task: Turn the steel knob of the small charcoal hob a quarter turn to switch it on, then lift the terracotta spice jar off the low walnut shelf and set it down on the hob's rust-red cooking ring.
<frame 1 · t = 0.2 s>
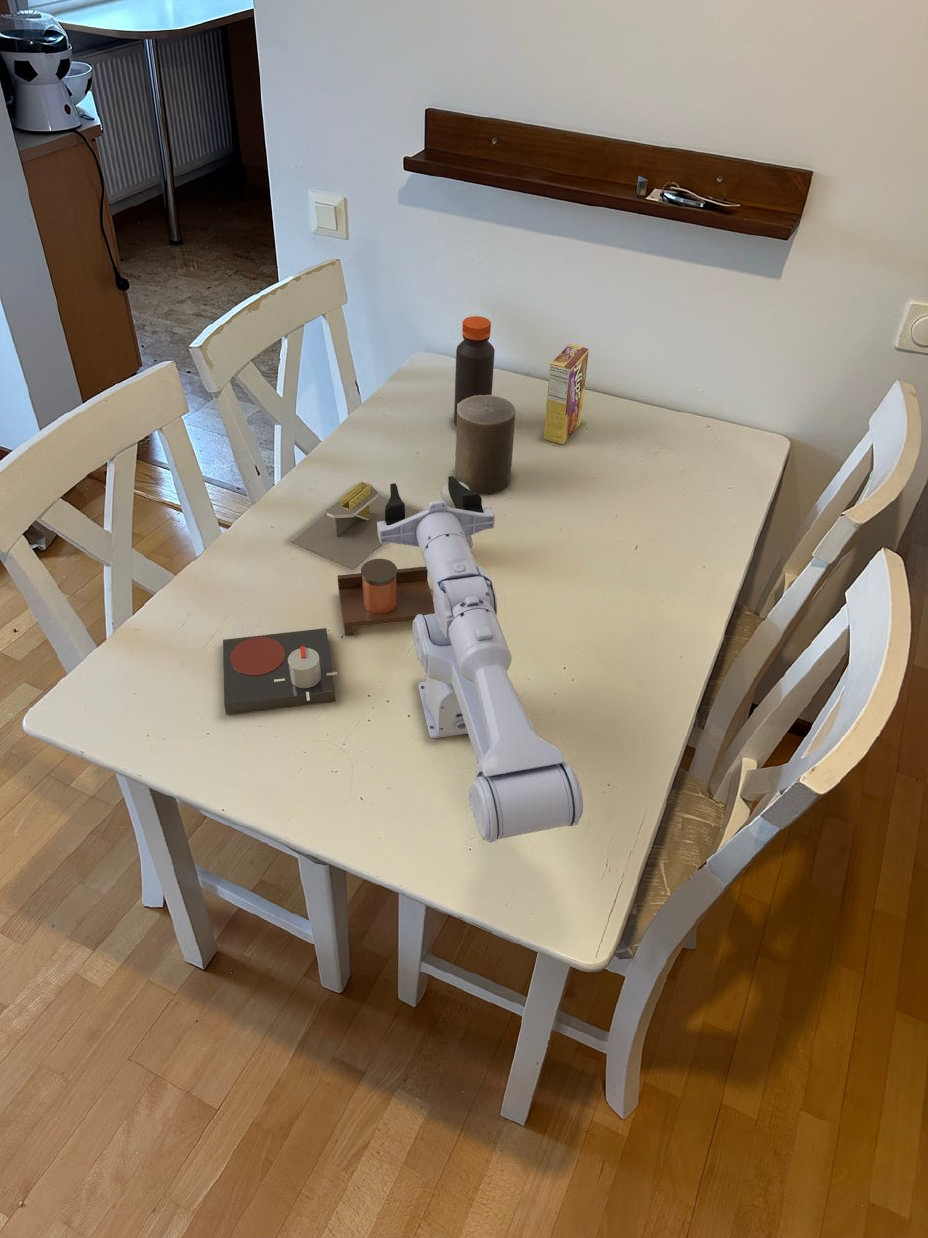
hand: (422, 486, 119), 21 cm above the table, tool horizontal, fingers open, 7 cm apart
salt shaker: (453, 557, 142), on the table
hob knob: (304, 667, 118), point 4 cm above the table, hinge at 0.0°
bottle: (471, 424, 171), on the table
candy box: (561, 432, 171), on the table
spice shelf: (387, 612, 132), on the table
jar: (380, 602, 130), point 2 cm above the table, touching spice shelf
hob: (279, 675, 123), on the table
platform: (356, 527, 147), on the table
pillar candle: (482, 479, 158), on the table
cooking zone: (257, 656, 122), resting on hob
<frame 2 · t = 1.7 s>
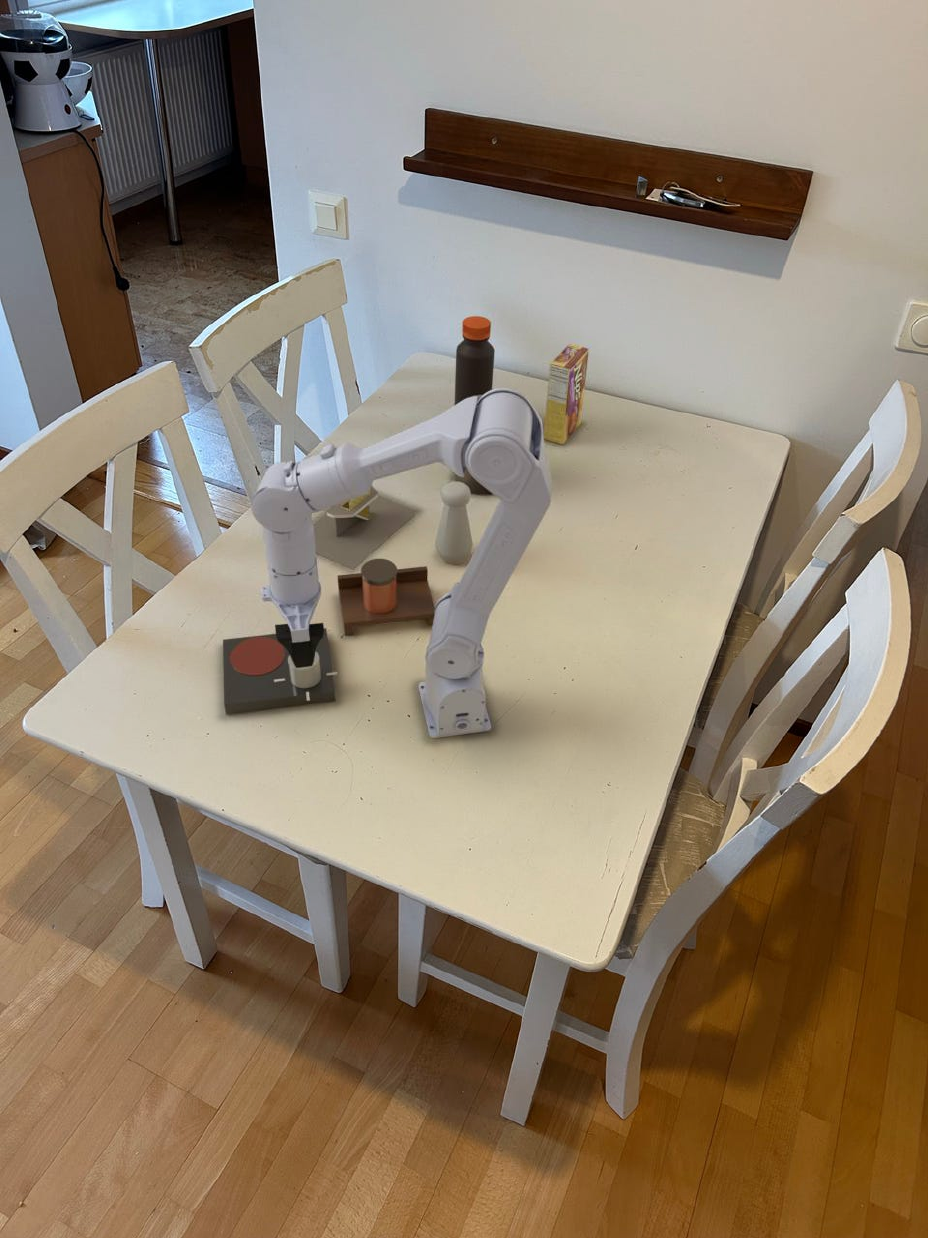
hand: (301, 643, 115), 8 cm above the table, tool pointing down, fingers open, 7 cm apart
nothing on the table moved.
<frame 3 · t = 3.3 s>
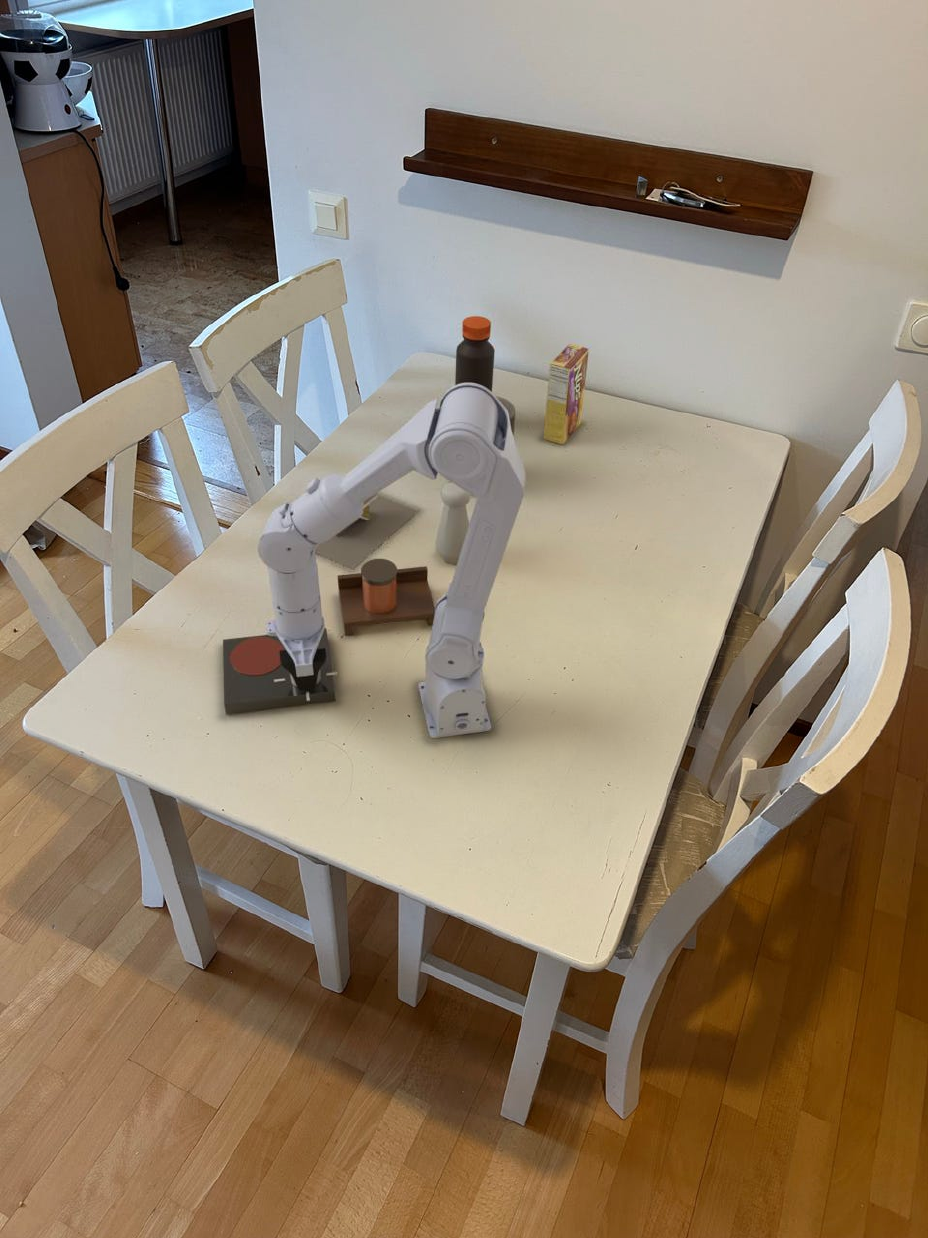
hand: (305, 674, 119), 3 cm above the table, tool pointing down, fingers closed on hob knob, 4 cm apart
hob knob: (304, 667, 118), point 4 cm above the table, hinge at 0.0°, touching gripper
everything else where it was.
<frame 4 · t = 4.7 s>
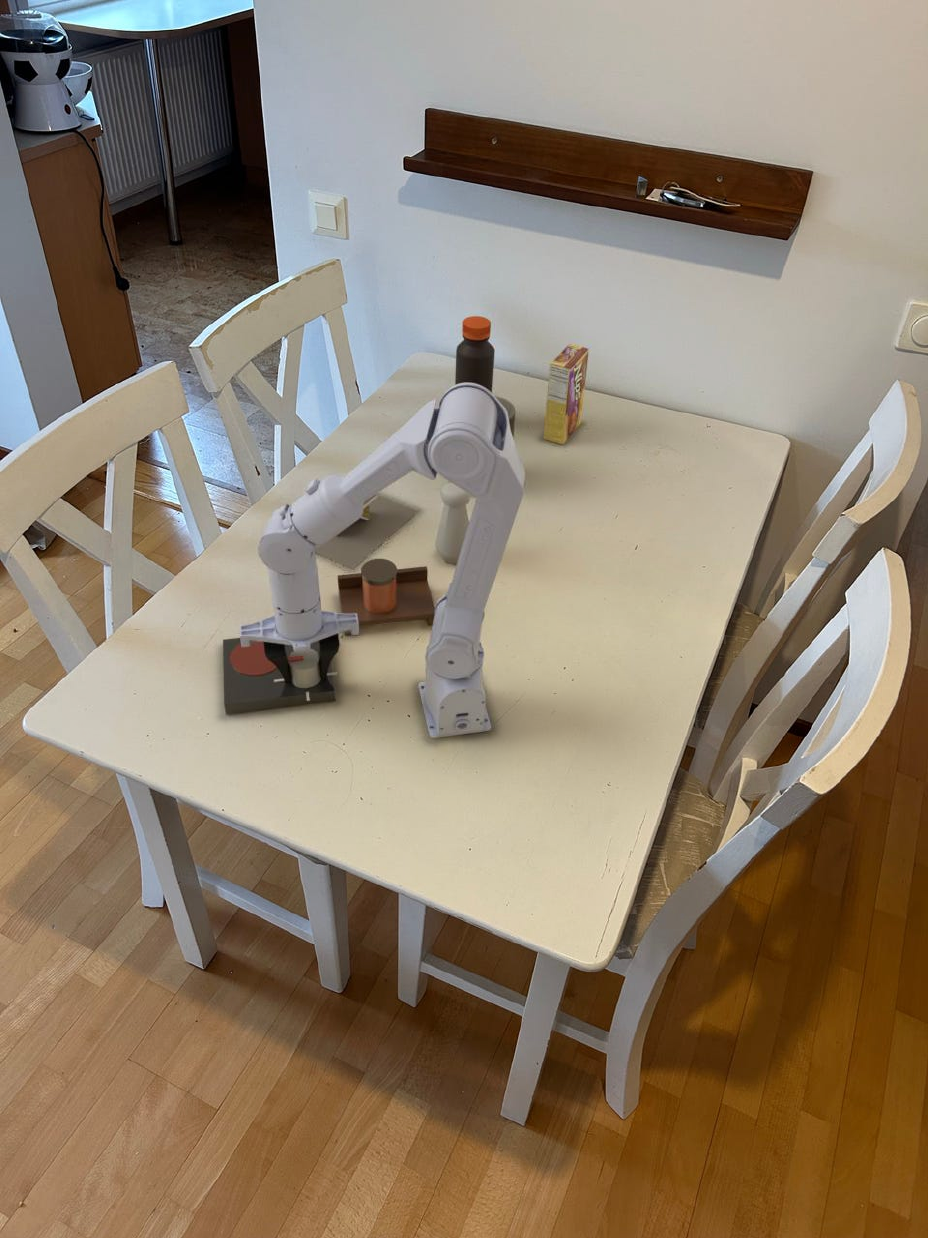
hand: (305, 675, 119), 2 cm above the table, tool pointing down, fingers closed on hob knob, 4 cm apart
hob knob: (304, 667, 118), point 4 cm above the table, hinge at 89.6°, touching gripper
everything else where it was.
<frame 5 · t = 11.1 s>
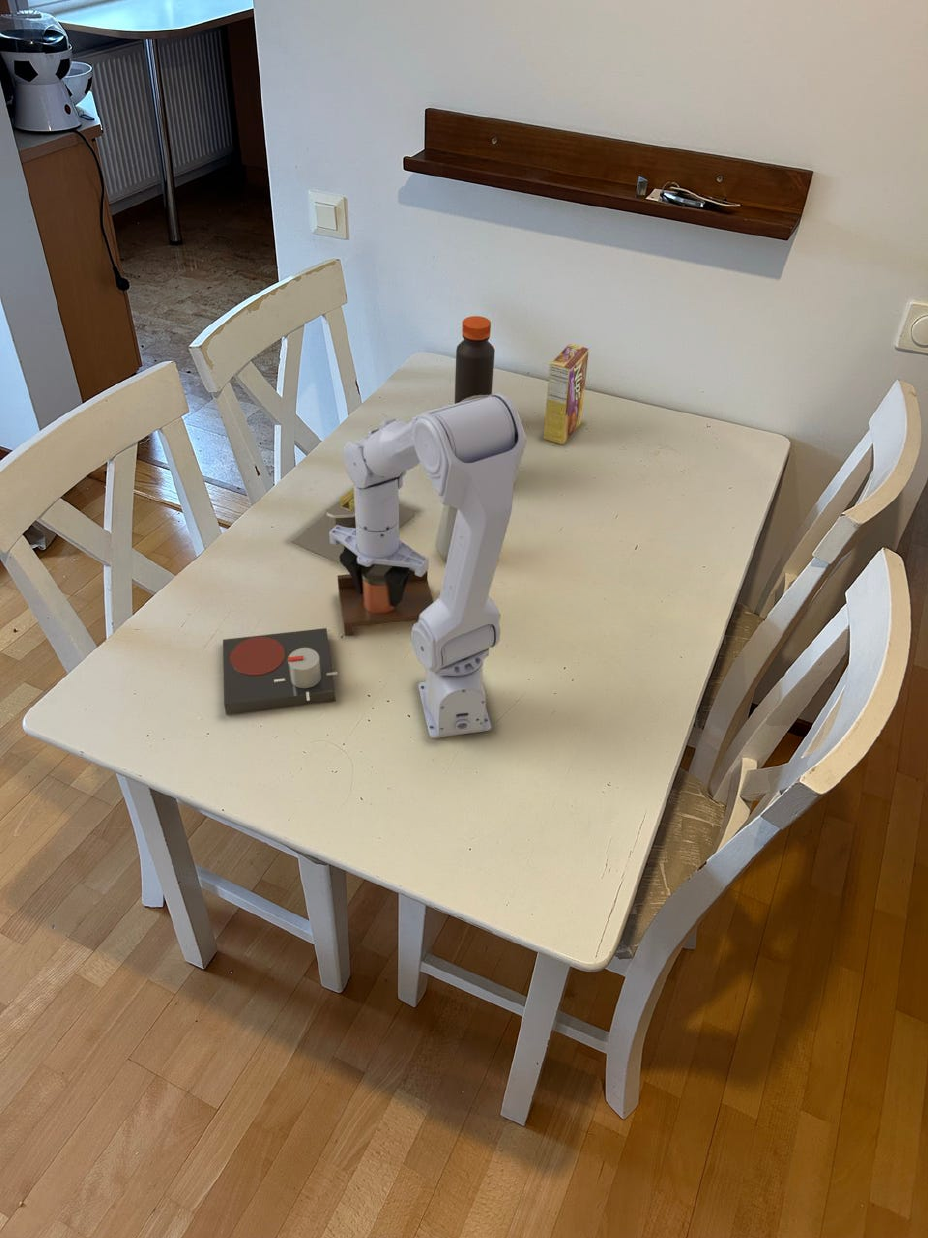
hand: (379, 596, 129), 4 cm above the table, tool pointing down, fingers closed on jar, 5 cm apart
hob knob: (304, 667, 118), point 4 cm above the table, hinge at 89.5°
jar: (380, 602, 130), point 3 cm above the table, touching gripper, spice shelf
everything else where it was.
when the fingers open (3 cm above the table, at t = 16.2 s): jar stays where it is, resting on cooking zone.
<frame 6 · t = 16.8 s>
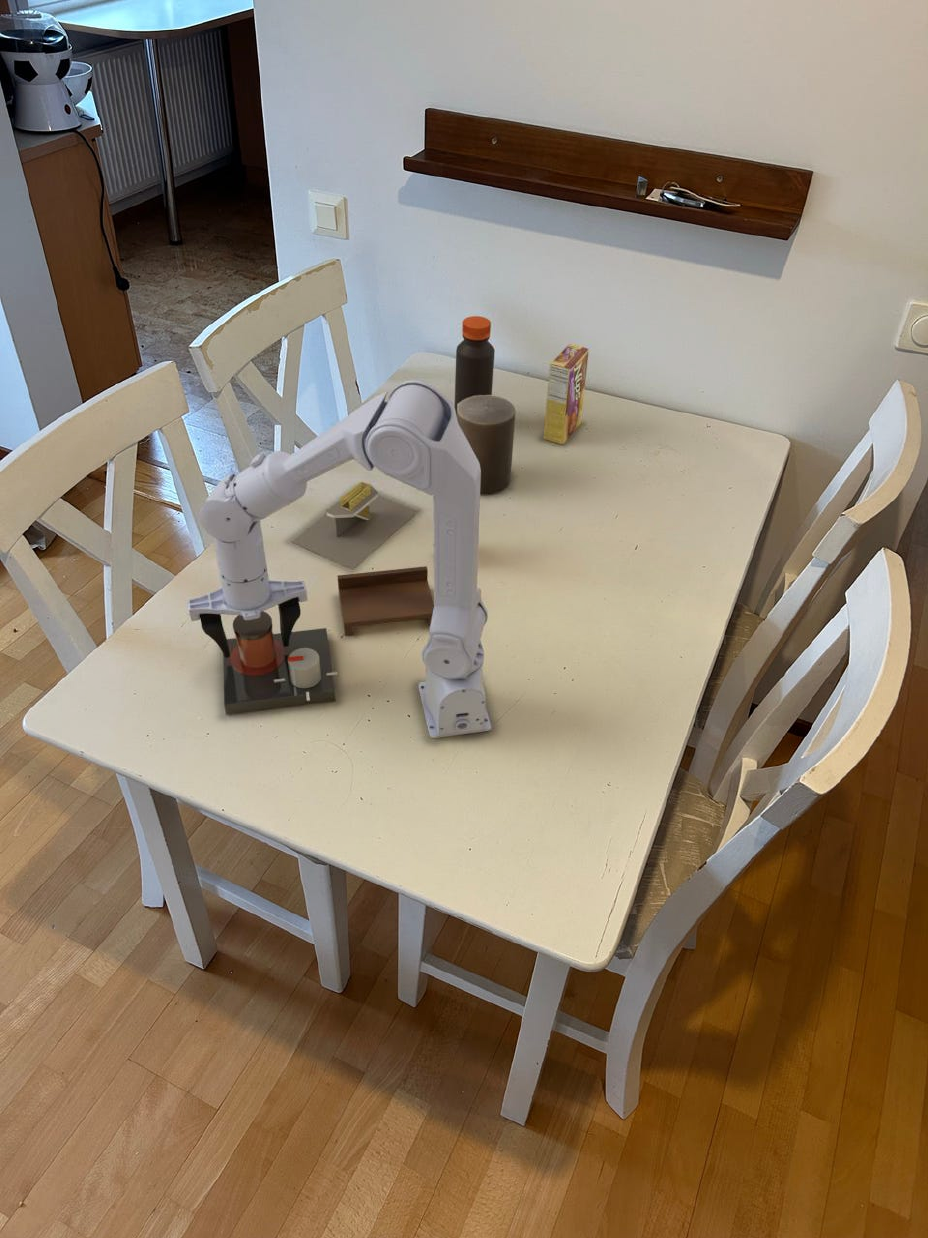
hand: (256, 646, 121), 4 cm above the table, tool pointing down, fingers open, 7 cm apart
jar: (257, 655, 122), point 2 cm above the table, touching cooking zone
everything else where it was.
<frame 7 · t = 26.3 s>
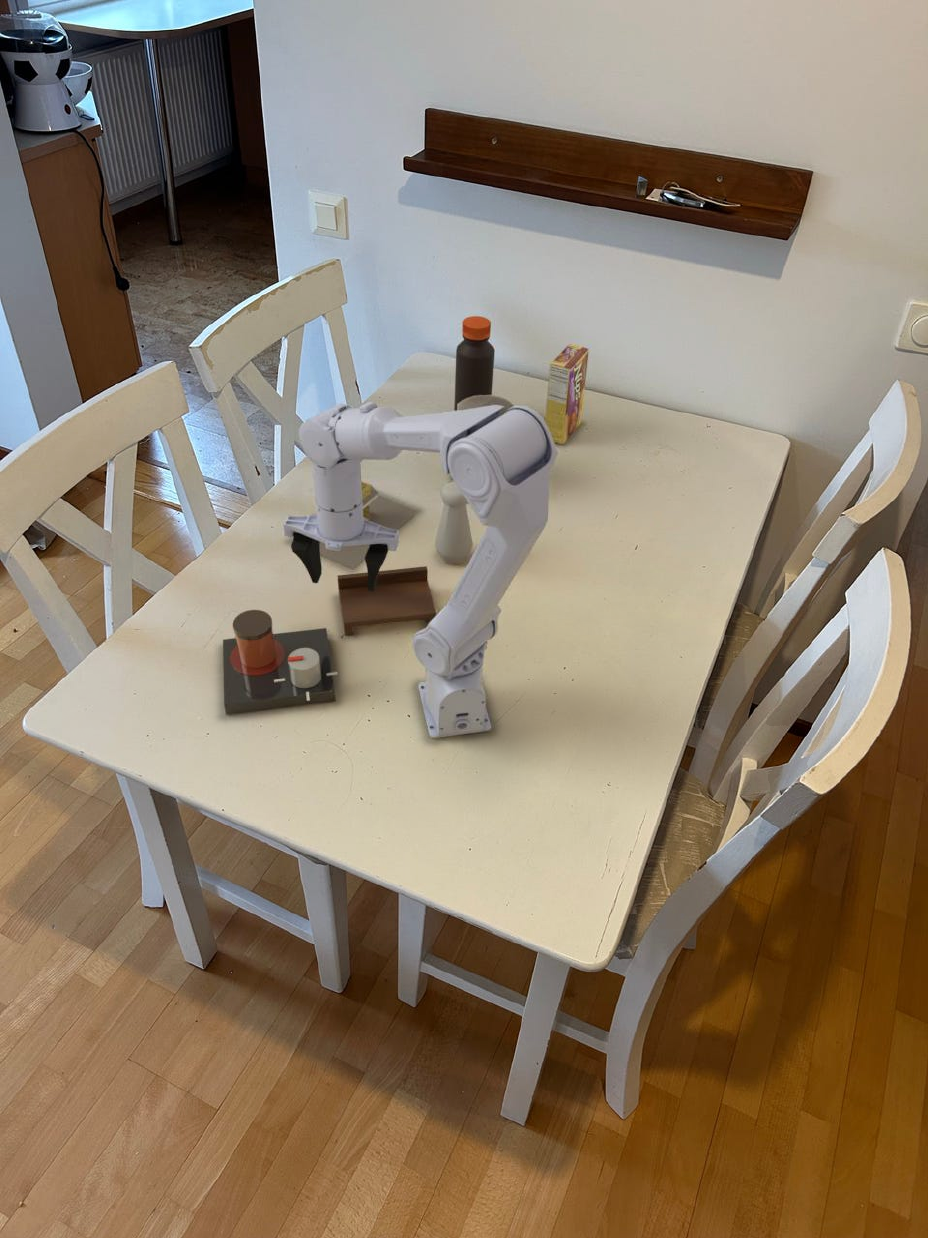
hand: (344, 582, 122), 10 cm above the table, tool pointing down, fingers open, 7 cm apart
nothing on the table moved.
at the end: hob knob at +90° (first picture: +0°); jar 0.1 cm off-centre on the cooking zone, point 0.1 cm above the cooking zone's base; jar tilted 0° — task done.
